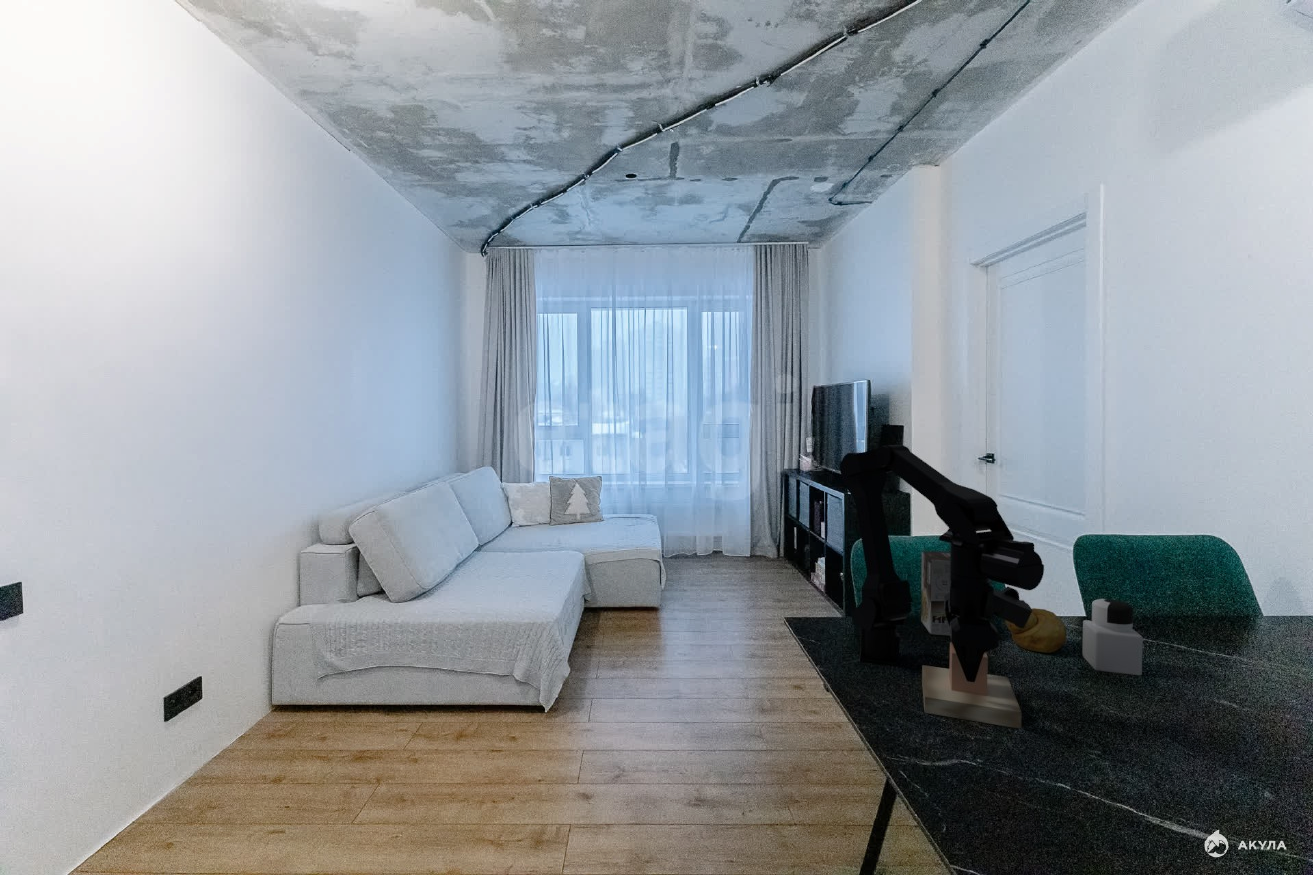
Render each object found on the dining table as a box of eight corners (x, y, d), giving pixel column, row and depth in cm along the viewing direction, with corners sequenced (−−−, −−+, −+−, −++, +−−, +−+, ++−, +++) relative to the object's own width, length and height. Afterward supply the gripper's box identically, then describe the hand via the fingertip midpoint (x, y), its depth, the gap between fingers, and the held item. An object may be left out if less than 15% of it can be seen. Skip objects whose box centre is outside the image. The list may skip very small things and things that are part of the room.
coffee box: (962, 637, 127) (964, 560, 126) (929, 634, 128) (930, 558, 128) (950, 622, 136) (952, 550, 135) (920, 620, 137) (921, 549, 137)
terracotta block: (951, 690, 96) (952, 652, 96) (949, 677, 101) (949, 642, 101) (987, 695, 95) (987, 657, 94) (983, 682, 99) (983, 646, 99)
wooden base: (924, 712, 94) (924, 696, 94) (922, 679, 106) (922, 665, 106) (1021, 728, 89) (1021, 711, 89) (1006, 691, 101) (1007, 677, 101)
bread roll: (1025, 631, 130) (1026, 594, 130) (1078, 644, 123) (1079, 605, 123) (1000, 645, 122) (1001, 606, 122) (1055, 660, 115) (1056, 618, 114)
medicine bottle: (1126, 661, 114) (1127, 597, 114) (1142, 676, 108) (1144, 609, 107) (1081, 656, 117) (1083, 594, 116) (1094, 670, 110) (1096, 605, 110)
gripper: (1040, 595, 86) (1037, 704, 86) (1017, 565, 103) (1015, 656, 103) (952, 586, 90) (950, 690, 90) (944, 559, 107) (943, 646, 108)
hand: (967, 669), depth 98 cm, fingers open, 9 cm apart
